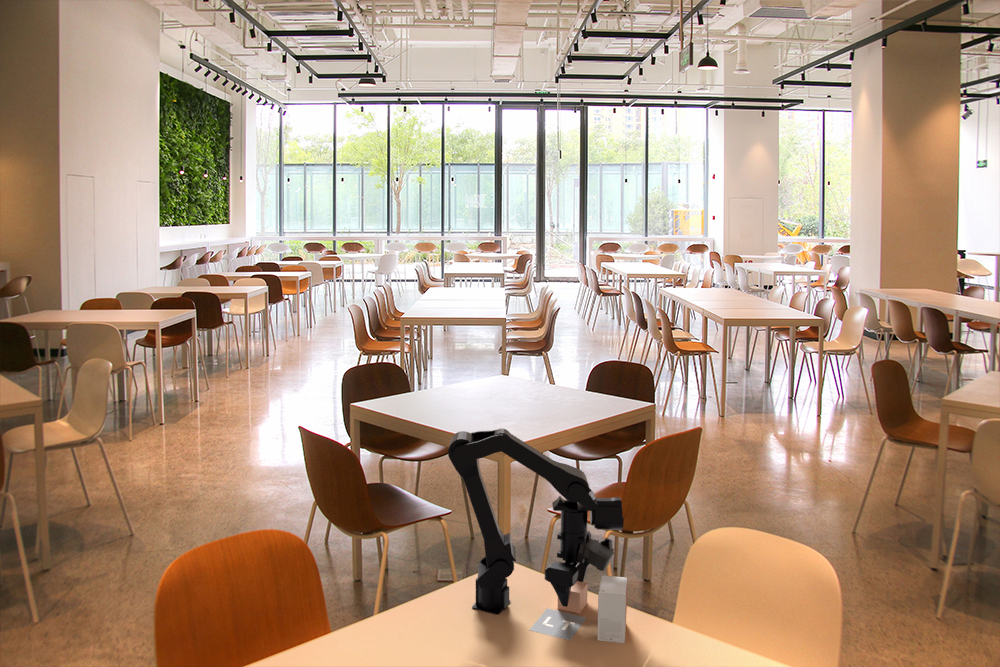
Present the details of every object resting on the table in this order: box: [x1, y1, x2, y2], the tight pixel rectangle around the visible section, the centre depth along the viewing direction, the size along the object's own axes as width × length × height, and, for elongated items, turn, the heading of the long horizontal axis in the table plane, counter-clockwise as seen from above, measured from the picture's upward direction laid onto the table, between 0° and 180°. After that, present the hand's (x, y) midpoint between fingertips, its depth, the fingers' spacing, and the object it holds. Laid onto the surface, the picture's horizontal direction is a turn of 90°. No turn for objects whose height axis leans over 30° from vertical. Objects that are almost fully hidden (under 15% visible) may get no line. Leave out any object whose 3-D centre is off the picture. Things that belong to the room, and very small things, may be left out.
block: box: [557, 581, 589, 614], centre depth 168 cm, size 5×5×5 cm
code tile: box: [529, 607, 587, 642], centre depth 161 cm, size 9×10×1 cm
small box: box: [596, 574, 629, 644], centre depth 157 cm, size 8×6×10 cm
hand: (572, 596), depth 168 cm, fingers open, 9 cm apart
